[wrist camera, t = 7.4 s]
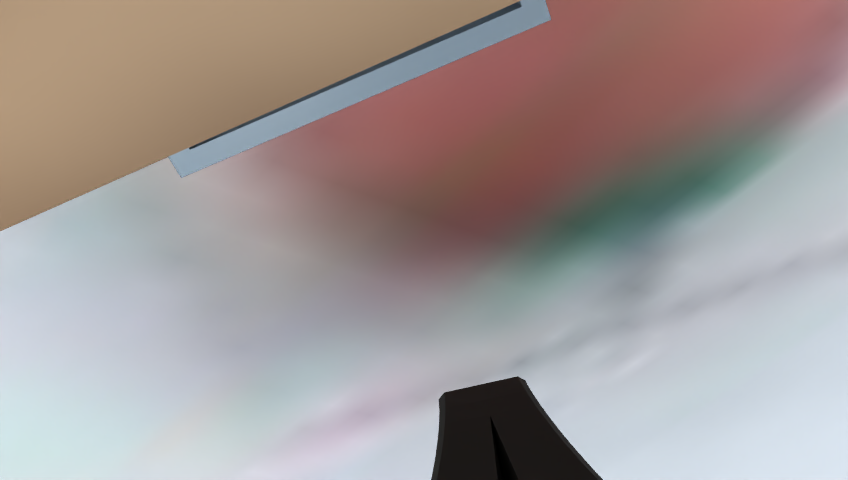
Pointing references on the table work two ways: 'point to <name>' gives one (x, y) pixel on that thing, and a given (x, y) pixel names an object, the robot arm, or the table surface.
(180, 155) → the tray
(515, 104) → the table surface
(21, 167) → the low shelf
